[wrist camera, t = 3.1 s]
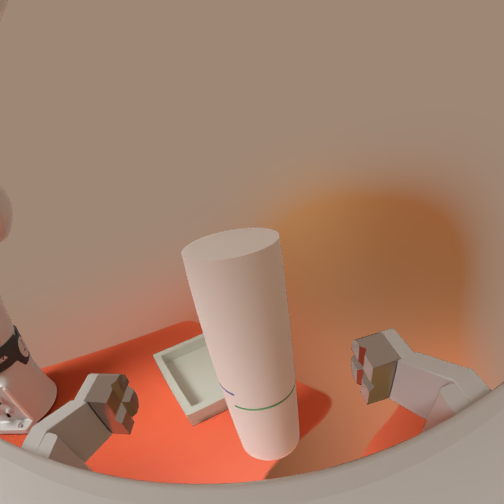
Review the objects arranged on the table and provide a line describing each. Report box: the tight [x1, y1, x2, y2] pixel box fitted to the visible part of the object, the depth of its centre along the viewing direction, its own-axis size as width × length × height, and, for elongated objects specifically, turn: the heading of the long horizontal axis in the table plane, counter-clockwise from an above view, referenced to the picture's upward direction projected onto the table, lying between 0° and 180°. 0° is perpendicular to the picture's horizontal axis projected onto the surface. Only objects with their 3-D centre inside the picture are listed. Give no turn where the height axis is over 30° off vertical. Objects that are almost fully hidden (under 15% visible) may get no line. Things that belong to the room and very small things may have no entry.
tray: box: [153, 334, 228, 426], centre depth 41 cm, size 16×16×2 cm
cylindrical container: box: [181, 228, 300, 460], centre depth 24 cm, size 7×7×25 cm
